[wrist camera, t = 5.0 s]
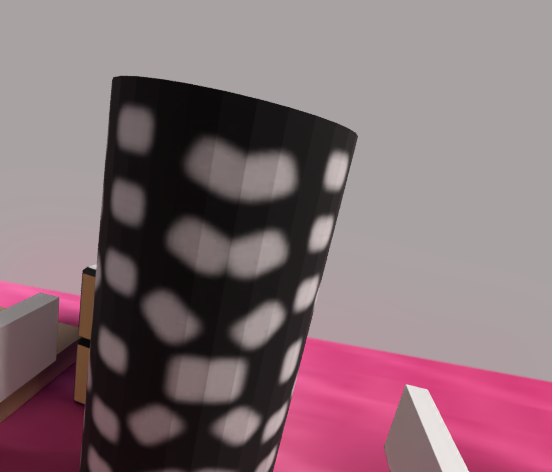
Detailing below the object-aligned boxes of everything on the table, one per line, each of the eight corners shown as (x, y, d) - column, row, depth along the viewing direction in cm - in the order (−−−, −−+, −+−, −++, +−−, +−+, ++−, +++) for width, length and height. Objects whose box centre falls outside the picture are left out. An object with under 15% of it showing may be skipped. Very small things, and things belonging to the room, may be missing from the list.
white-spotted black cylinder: (283, 525, 18) (386, 148, 13) (148, 735, 11) (270, 86, 6) (179, 433, 22) (231, 123, 17) (35, 540, 15) (57, 70, 10)
